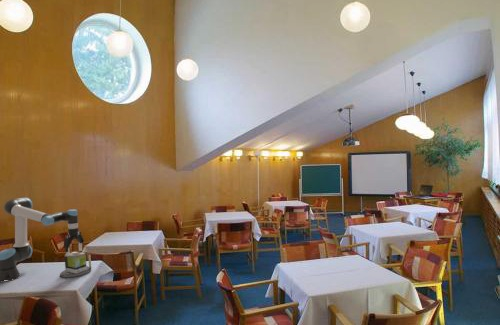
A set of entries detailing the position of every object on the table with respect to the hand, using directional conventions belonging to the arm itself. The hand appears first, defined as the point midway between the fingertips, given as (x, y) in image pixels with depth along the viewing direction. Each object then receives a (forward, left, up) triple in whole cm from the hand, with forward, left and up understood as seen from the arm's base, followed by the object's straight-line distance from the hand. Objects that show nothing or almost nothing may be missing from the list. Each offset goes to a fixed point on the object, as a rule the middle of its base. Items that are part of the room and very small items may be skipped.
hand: (74, 253), depth 274 cm
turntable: (0, 0, -17) cm, 17 cm away
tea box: (0, 0, -15) cm, 15 cm away
